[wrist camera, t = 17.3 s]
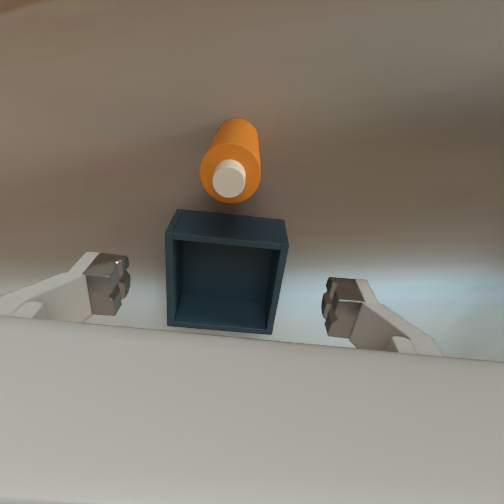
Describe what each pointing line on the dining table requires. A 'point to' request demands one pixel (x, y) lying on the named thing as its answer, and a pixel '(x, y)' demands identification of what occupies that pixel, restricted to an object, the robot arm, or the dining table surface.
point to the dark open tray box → (224, 271)
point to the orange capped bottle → (232, 162)
